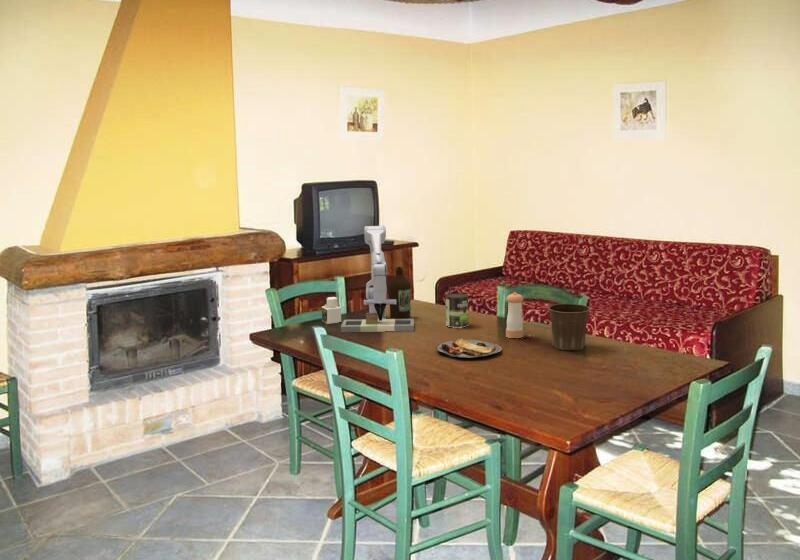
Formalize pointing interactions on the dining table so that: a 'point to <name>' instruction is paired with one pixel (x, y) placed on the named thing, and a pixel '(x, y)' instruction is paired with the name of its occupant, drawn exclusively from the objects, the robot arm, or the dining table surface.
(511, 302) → the pepper shaker
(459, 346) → the food plate
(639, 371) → the dining table surface
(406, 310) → the olive oil
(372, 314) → the walnut block
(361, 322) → the trap lane
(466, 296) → the coffee can
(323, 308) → the medicine bottle
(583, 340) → the plant pot
